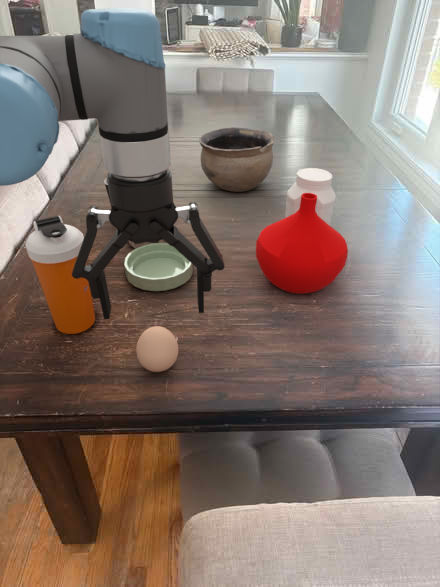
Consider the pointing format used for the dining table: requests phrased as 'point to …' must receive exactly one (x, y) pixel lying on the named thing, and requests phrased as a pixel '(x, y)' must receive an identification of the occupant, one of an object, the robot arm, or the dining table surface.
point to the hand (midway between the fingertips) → (154, 310)
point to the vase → (301, 250)
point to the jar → (316, 184)
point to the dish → (157, 267)
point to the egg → (157, 349)
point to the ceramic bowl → (236, 157)
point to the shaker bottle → (61, 274)
